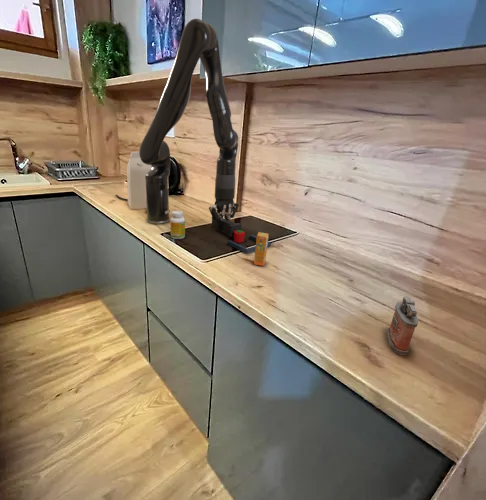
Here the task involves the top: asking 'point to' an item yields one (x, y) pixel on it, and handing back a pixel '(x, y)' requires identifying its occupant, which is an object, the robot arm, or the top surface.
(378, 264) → the top surface
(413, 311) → the lighter
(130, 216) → the top surface
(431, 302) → the top surface
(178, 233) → the supplement bottle
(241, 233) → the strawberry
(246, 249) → the frame
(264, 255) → the supplement box
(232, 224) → the matte black brick
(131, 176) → the milk
